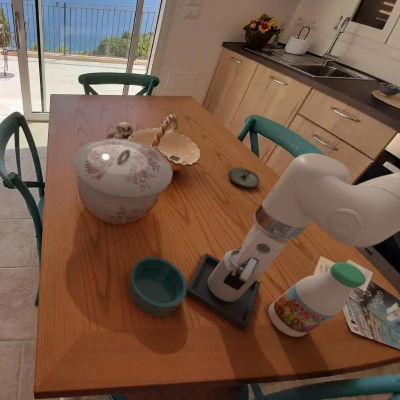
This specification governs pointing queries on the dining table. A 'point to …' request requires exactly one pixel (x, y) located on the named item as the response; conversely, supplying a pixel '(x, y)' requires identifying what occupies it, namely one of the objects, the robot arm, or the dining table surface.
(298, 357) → the dining table surface
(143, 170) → the chamber pot
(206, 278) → the tray
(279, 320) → the milk bottle
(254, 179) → the lid
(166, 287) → the bowl
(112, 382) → the dining table surface
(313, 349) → the dining table surface
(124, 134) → the skull
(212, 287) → the can
